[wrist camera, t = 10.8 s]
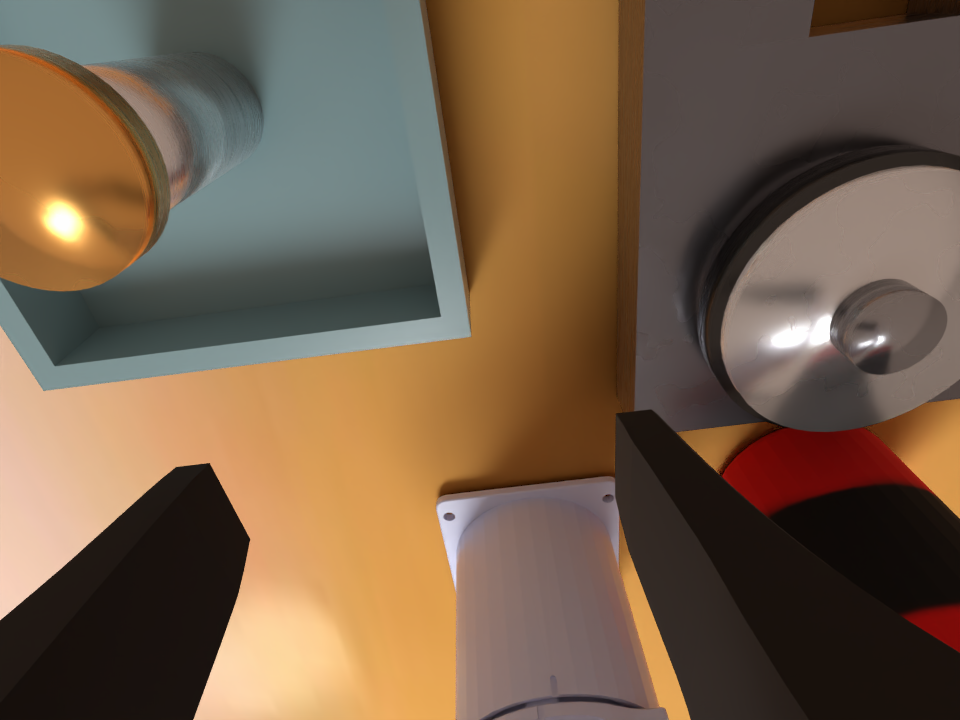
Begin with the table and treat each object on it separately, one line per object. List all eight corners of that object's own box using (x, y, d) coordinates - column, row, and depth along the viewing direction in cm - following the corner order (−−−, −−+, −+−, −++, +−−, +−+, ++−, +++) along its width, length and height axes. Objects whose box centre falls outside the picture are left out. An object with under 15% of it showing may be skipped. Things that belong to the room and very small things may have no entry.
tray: (469, 295, 19) (471, 336, 17) (96, 343, 20) (43, 390, 17) (387, -256, 12) (368, -327, 10) (-189, -159, 13) (-348, -202, 10)
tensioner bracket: (925, 359, 22) (1054, 453, 17) (616, 396, 22) (659, 498, 17) (1168, -334, 12) (1614, -555, 7) (620, -243, 13) (715, -399, 8)
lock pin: (294, 171, 17) (180, 277, 10) (171, 187, 17) (-26, 303, 10) (252, 24, 15) (72, 29, 8) (113, 44, 15) (-183, 65, 8)
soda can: (914, 472, 25) (1234, 789, 15) (771, 560, 28) (955, 877, 17) (822, 384, 22) (1135, 698, 12) (675, 493, 25) (824, 820, 15)
